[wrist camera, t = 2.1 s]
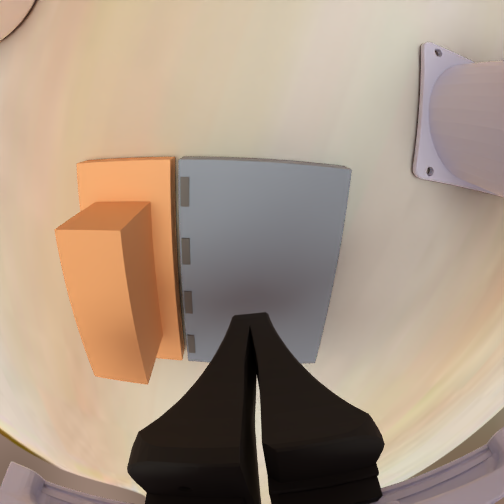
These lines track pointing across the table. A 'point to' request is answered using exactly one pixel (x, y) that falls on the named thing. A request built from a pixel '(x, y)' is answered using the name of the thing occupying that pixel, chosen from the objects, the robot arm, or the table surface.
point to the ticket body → (259, 247)
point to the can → (13, 14)
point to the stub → (124, 265)
